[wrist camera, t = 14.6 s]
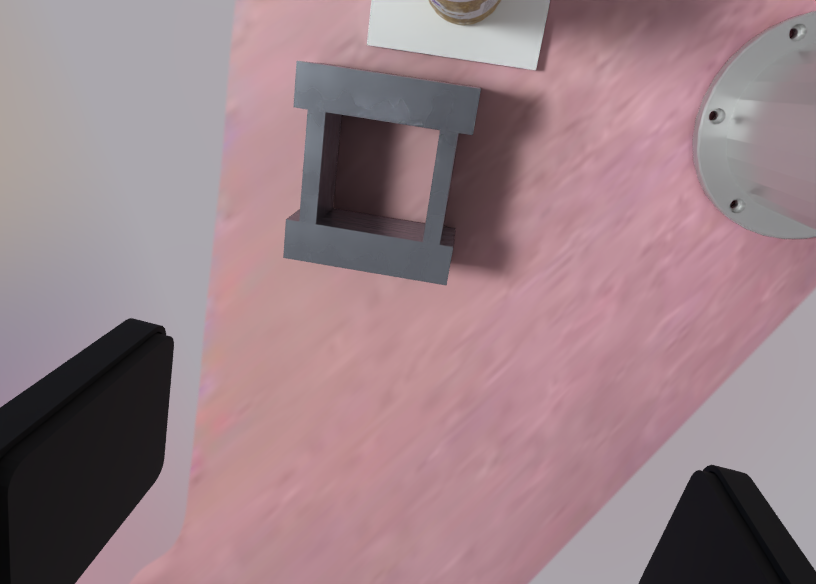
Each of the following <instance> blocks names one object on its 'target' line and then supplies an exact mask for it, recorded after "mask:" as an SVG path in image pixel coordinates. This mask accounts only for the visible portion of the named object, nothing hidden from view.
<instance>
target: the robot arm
mask: <svg viewBox="0 0 816 584" xmlns="http://www.w3.org/2000/svg"><path fill="white" fill-rule="evenodd" d="M791 29H793V31H794V35H793V37H792V38H790V37H789V32H790V30H791ZM712 111H714V112H715V117H714V119H712V120H710V119H709V114H710V113H711V112H712ZM692 145H693V162H694V166H695V170H696V174H697V178H698V180H699V183H700V185H701V187H702V189H703V191H704V193H705V195H706V196H707V197H708V199H709V200H710V201H711V202H712V204H713V205H714V206H715V207H716V209H717V210H718V211H720V212H721V213H722V214H723V215H725V216H726V217H727V218H729V219H730V220H731V221H732V222H734V223H736V224H738V225H740V226H742V227H743V228H745V229H747V230H750V231H753V232H755V233H758V234H761V235H764V236H769V237H775V238H781V239H807V238H812V237H816V11H814V12H810V13H806V14H802V15H798V16H794V17H791V18H789V19H787V20H785V21H782V22H780V23H778V24H776V25H773V26H771V27H769V28H768V29H766V30H764V31H763V32H761V33H760V34H758V35H757V36H755V37H754V38H752V39H751V40H749V41H748V42H747V43H746V44H745V45H744V46H742V47H741V48H740V49H739V50H738V51H737V52H736V53H735V54H734V55H733V56H731V57H730V58H729V60H728V61H727V62H726V63H725V65H724V66H723V67H722V68H721V70H720V71H719V72H718V73H717V75H716V76H715V77H714V79H713V81H712V83H711V85H710V86H709V88H708V90H707V92H706V93H705V95H704V97H703V100H702V102H701V105H700V108H699V111H698V114H697V116H696V120H695V126H694V132H693V139H692ZM733 200H735V204H734V206H732V207H730V204H731V202H732V201H733ZM173 350H174V341H173V338H172V337H170V336H166V331H165V328H164V327H163V326H160V325H156V324H152V323H148V322H144V321H141V320H136V319H131V318H130V319H128V320H125V321H124V322H123V323H121V324H120V325H118V326H117V327H115V328H114V329H113V330H111V331H110V332H108V333H107V334H106V335H104V336H102V337H101V338H100V339H98V340H97V341H95V342H94V343H92V344H91V345H90V346H88V347H87V348H85V349H84V350H82V351H81V352H80V353H78V354H77V355H75V356H74V357H72V358H71V359H70V360H68V361H67V362H65V363H64V364H62V365H61V366H60V367H58V368H57V369H55V370H54V371H52V372H51V373H49V374H48V375H46V376H45V377H44V378H42V379H41V380H39V381H38V382H37V383H35V384H34V385H32V386H31V387H30V388H28V389H26V390H25V391H23V392H22V393H21V394H19V395H18V396H16V397H15V398H14V399H12V400H11V401H9V402H8V403H6V404H5V405H3V406H2V407H1V408H0V584H75V583H76V582H77V580H78V579H79V578H80V576H81V575H82V574H83V573H84V571H85V570H86V569H87V568H88V566H89V565H90V564H91V562H92V561H93V560H94V559H95V557H96V556H97V555H98V554H99V552H100V551H101V550H102V549H103V547H104V546H105V545H106V543H107V542H108V541H109V539H110V538H111V537H112V536H113V535H114V533H115V532H116V531H117V529H118V528H119V527H120V526H121V524H122V523H123V522H124V521H125V519H126V518H127V517H128V516H129V514H130V513H131V512H132V511H133V509H134V508H135V507H136V505H137V504H138V503H139V502H140V500H141V499H142V498H143V496H144V495H145V494H146V493H147V491H148V490H149V489H150V488H151V486H152V485H153V484H154V483H155V481H156V480H157V478H158V476H159V474H160V472H161V470H162V467H163V462H164V455H165V443H166V431H167V420H168V419H167V418H168V408H169V397H170V385H171V373H172V362H173ZM639 584H816V571H815V570H814V568H813V567H812V566H811V564H810V562H809V561H808V560H807V558H806V557H805V555H804V554H803V552H802V551H801V550H800V548H799V547H798V545H797V544H796V542H795V541H794V539H793V538H792V537H791V535H790V534H789V532H788V531H787V529H786V528H785V527H784V525H783V524H782V522H781V521H780V519H779V518H778V516H777V515H776V514H775V512H774V511H773V509H772V508H771V507H770V505H769V503H768V502H767V501H766V499H765V498H764V496H763V495H762V494H761V492H760V491H759V489H758V488H757V486H756V485H755V483H754V482H753V480H752V479H751V478H750V477H749V476H748V475H747V474H745V473H742V472H739V471H735V470H731V469H727V468H723V467H719V466H715V465H710V466H707V467H706V468H705V469H704V470H703V471H701V470H698V471H696V472H694V473H693V475H692V476H691V478H690V480H689V482H688V484H687V486H686V488H685V490H684V492H683V494H682V496H681V498H680V500H679V502H678V504H677V506H676V508H675V510H674V512H673V514H672V517H671V519H670V520H669V522H668V524H667V527H666V529H665V531H664V533H663V535H662V537H661V539H660V541H659V543H658V545H657V547H656V549H655V551H654V553H653V555H652V557H651V559H650V561H649V563H648V565H647V567H646V569H645V571H644V573H643V576H642V577H641V579H640V581H639Z"/></svg>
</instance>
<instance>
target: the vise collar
mask: <svg viewBox="0 0 816 584" xmlns="http://www.w3.org/2000/svg"><path fill="white" fill-rule="evenodd" d="M480 92H481V88H479V87H473V86H466V85H460V84H453V83H447V82H440V81H433V80H427V79H420V78H414V77H407V76H400V75H394V74H387V73H381V72H374V71H368V70H361V69H354V68H348V67H341V66H335V65H328V64H322V63H313V62H303V61H297V64H296V79H295V94H294V107H296V108H302V109H308V113H307V126H306V139H305V152H304V165H303V178H302V192H301V205H300V209H299V210H298V211H297V212H295V213H294V214H293V215H291V216H290V217H289V218H287V219H286V227H285V242H284V257H283V258H288V259H294V260H300V261H306V262H312V263H317V264H323V265H329V266H335V267H341V268H347V269H353V270H359V271H365V272H370V273H376V274H382V275H388V276H394V277H400V278H406V279H412V280H418V281H424V282H429V283H435V284H441V285H447V279H448V274H449V268H450V262H451V257H452V251H453V244H454V236H455V228H449V227H443V226H444V220H445V214H446V208H447V202H448V196H449V190H450V184H451V178H452V172H453V166H454V160H455V154H456V148H457V142H458V136H459V133H462V134H469V135H473V131H474V126H475V120H476V114H477V109H478V103H479V97H480ZM342 115H347V116H353V117H360V118H366V119H373V120H379V121H385V122H392V123H398V124H405V125H411V126H417V127H424V128H430V129H437V130H440V134H439V141H438V147H437V154H436V160H435V166H434V173H433V179H432V186H431V192H430V199H429V205H428V211H427V218H426V224H425V223H419V222H413V221H407V220H400V219H394V218H388V217H382V216H376V215H370V214H364V213H358V212H352V211H346V210H340V209H334V208H333V203H334V193H335V183H336V172H337V162H338V151H339V141H340V131H341V120H342Z"/></svg>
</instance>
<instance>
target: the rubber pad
mask: <svg viewBox="0 0 816 584" xmlns="http://www.w3.org/2000/svg"><path fill="white" fill-rule="evenodd" d="M549 4H550V0H501V1H500V3H499V4H498V6H497V7H496V9H495V11H494V12H493V13H492V14H490V15H489V16H488V17H486V18H485V19H484V20H482V21H480V22H477V23H475V24H471V25H457V24H453V23H450V22H448V21H446V20H444V19H443V18H442V17H440V16H439V15H438V14H437V13H436V12H435V10H434V9H433V8H432V6H431V5H430V3H429V0H372V2H371V11H370V21H369V30H368V39H367V45H369V46H375V47H382V48H389V49H395V50H402V51H409V52H415V53H422V54H429V55H436V56H442V57H449V58H456V59H462V60H469V61H476V62H482V63H489V64H496V65H502V66H509V67H516V68H522V69H529V70H536V67H537V62H538V58H539V53H540V48H541V43H542V38H543V33H544V28H545V23H546V19H547V14H548V9H549Z"/></svg>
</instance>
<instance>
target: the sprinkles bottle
mask: <svg viewBox="0 0 816 584" xmlns="http://www.w3.org/2000/svg"><path fill="white" fill-rule="evenodd" d="M500 1H501V0H429V3H430V5H431V6H432V8H433V9H434V10H435V12H436V13H437V14H438V15H439V16H440V17H442V18H443V19H444V20H446V21H448V22H450V23H453V24H457V25H471V24H475V23H477V22H480V21H482V20H484V19H485V18H486V17H488V16H489V15H490V14H492V13H493V12H494V11H495V9H496V7H497V6H498V4H499V3H500Z"/></svg>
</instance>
